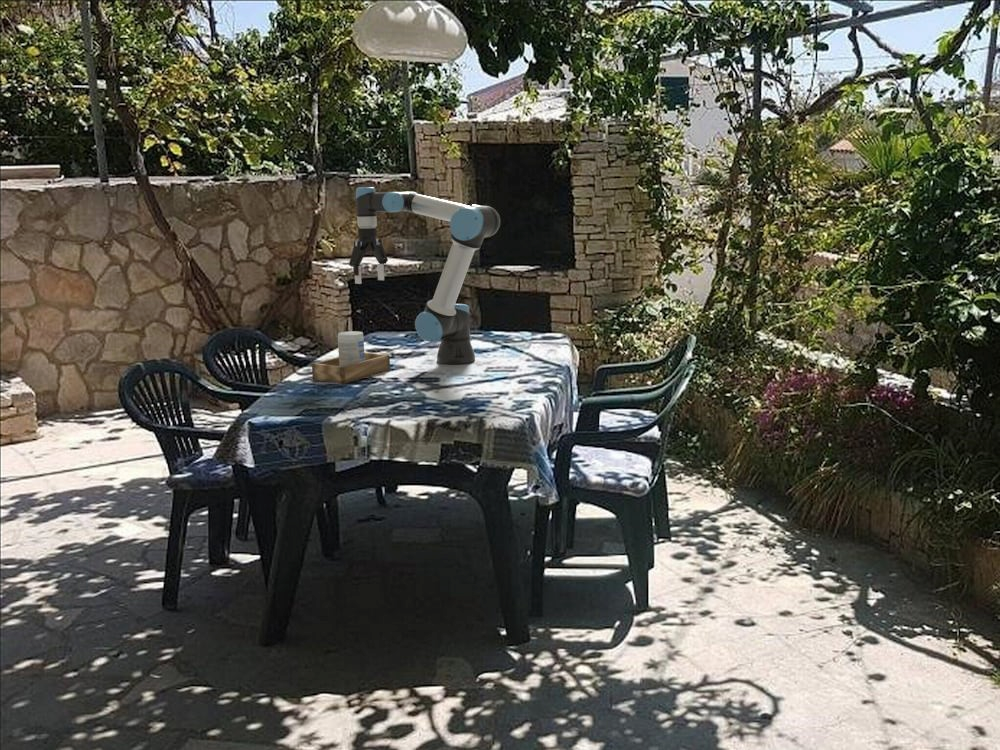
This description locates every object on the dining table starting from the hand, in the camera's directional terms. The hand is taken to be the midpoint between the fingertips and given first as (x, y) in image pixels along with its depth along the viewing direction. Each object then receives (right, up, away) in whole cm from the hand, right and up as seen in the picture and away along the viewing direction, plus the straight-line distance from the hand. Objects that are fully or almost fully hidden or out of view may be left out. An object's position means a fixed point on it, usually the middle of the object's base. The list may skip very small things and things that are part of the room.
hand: (369, 282), depth 348 cm
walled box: (-4, -37, -20) cm, 42 cm away
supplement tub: (-4, -36, -20) cm, 41 cm away
